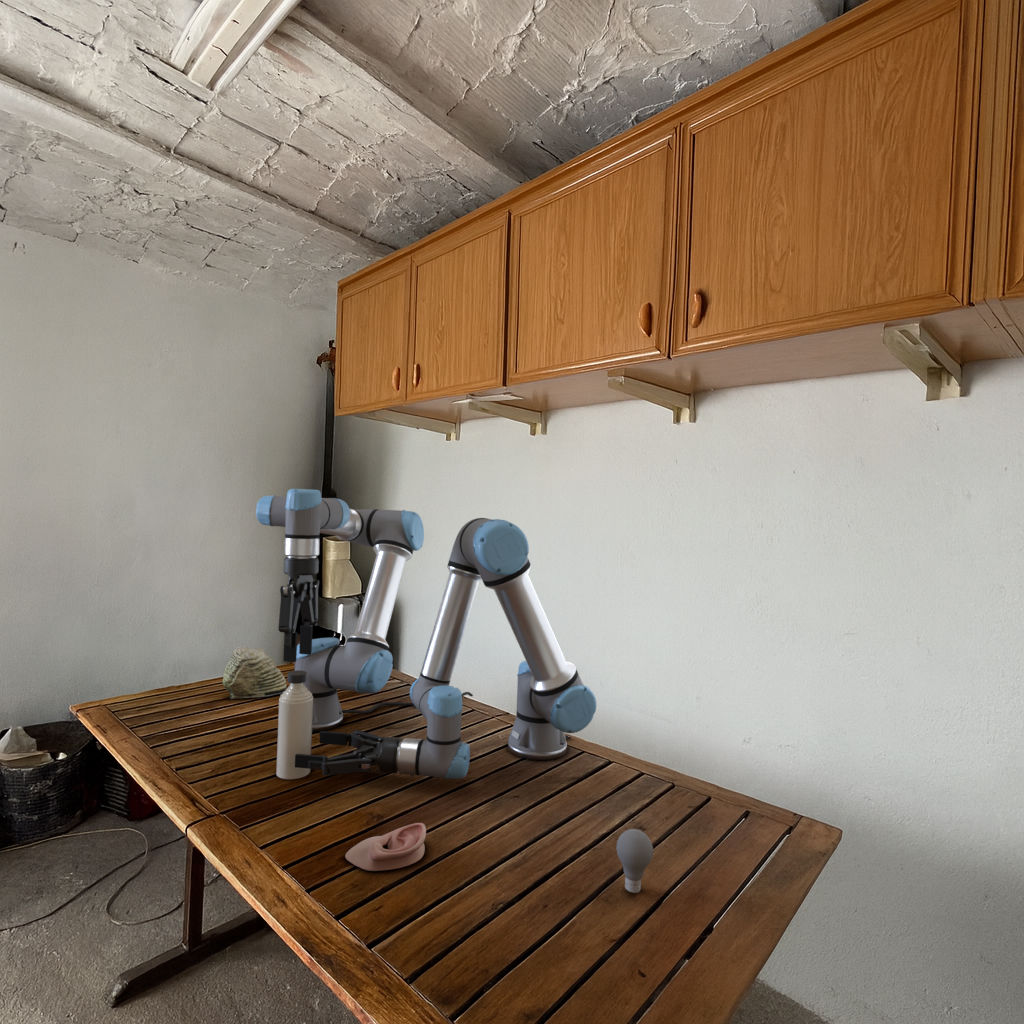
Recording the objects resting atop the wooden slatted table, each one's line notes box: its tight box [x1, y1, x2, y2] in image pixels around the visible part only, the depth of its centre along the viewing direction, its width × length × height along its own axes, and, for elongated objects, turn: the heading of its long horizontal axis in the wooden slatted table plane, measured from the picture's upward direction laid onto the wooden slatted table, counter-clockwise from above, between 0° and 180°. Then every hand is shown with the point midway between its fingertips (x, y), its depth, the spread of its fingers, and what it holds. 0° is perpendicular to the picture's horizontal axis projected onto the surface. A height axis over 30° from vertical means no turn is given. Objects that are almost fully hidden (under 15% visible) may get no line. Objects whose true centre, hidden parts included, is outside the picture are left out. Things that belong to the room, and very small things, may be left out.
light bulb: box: [615, 828, 654, 894], centre depth 106 cm, size 6×6×10 cm
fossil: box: [222, 646, 288, 699], centre depth 198 cm, size 9×18×15 cm, turn 132°
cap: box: [286, 670, 307, 684], centre depth 145 cm, size 4×4×2 cm
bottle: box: [275, 683, 313, 780], centre depth 145 cm, size 7×7×22 cm
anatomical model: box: [344, 822, 427, 872], centre depth 113 cm, size 13×4×12 cm
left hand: (297, 657), depth 144 cm, fingers open, 6 cm apart
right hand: (308, 748), depth 144 cm, fingers open, 13 cm apart
